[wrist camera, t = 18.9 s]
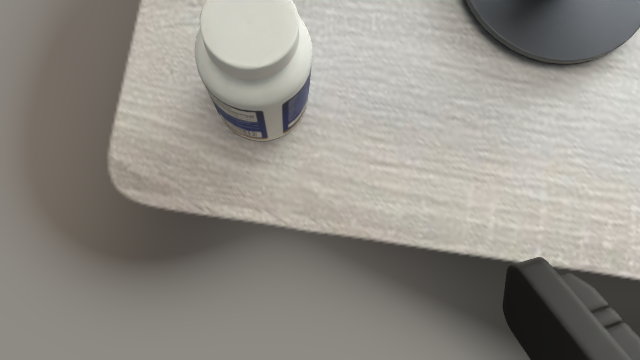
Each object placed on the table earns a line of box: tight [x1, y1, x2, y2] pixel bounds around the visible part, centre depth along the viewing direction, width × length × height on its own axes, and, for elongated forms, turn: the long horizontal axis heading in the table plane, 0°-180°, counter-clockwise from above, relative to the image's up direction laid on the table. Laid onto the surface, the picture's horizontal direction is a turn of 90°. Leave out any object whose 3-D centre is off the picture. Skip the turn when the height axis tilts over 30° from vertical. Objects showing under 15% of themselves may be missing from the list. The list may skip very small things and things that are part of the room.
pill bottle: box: [195, 0, 312, 141], centre depth 25 cm, size 5×5×10 cm
